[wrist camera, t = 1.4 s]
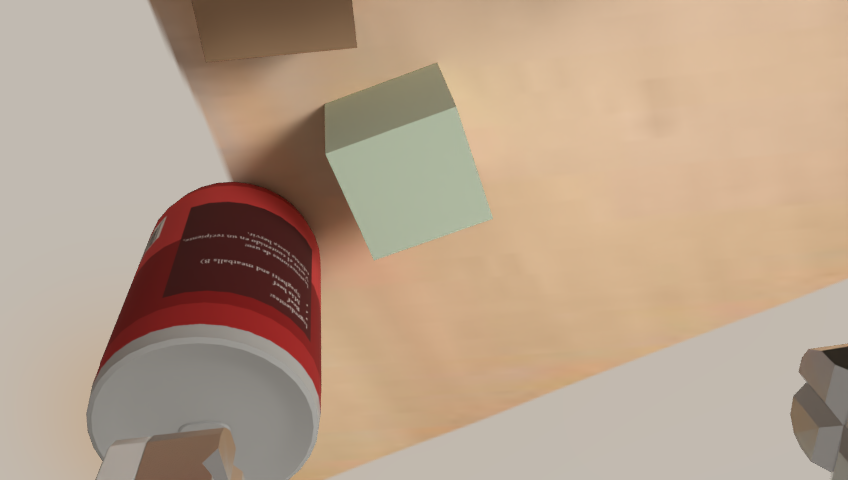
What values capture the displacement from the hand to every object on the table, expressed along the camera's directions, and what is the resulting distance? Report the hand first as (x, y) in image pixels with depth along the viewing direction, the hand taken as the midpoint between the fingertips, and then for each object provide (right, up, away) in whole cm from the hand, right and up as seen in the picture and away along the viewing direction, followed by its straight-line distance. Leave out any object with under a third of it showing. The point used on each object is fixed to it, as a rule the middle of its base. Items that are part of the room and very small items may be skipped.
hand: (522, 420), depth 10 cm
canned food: (-10, +2, +23) cm, 25 cm away
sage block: (-2, +7, +21) cm, 22 cm away
